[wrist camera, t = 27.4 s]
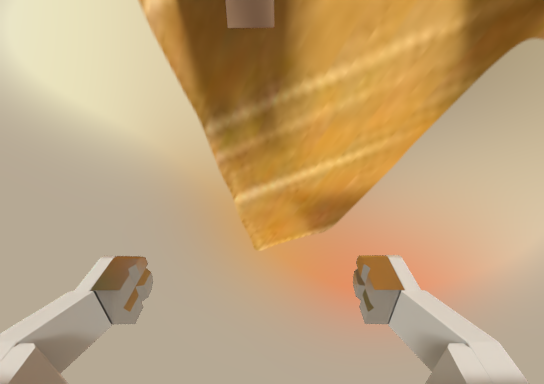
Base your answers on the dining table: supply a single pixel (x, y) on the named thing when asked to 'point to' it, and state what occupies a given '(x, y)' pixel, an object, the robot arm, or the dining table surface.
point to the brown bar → (250, 13)
